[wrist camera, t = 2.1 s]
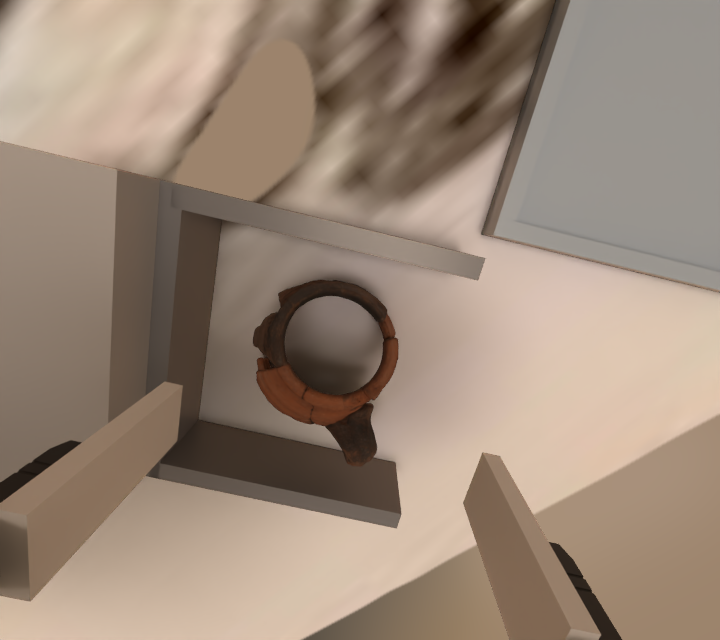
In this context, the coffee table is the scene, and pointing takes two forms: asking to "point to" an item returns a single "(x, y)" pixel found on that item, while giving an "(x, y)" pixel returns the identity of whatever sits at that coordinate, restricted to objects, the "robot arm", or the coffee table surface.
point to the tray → (621, 141)
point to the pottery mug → (309, 406)
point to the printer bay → (153, 326)
